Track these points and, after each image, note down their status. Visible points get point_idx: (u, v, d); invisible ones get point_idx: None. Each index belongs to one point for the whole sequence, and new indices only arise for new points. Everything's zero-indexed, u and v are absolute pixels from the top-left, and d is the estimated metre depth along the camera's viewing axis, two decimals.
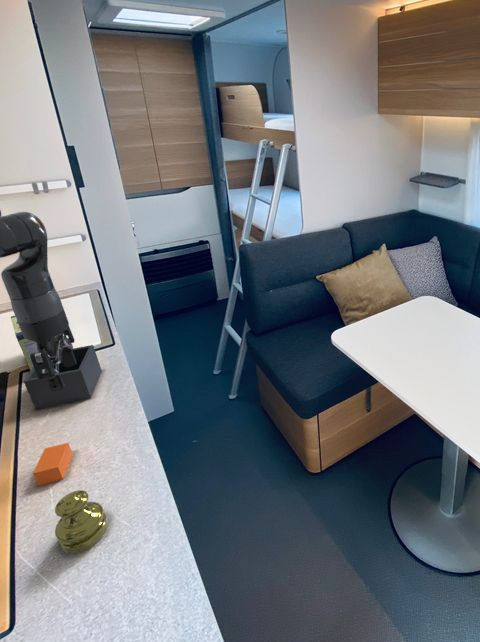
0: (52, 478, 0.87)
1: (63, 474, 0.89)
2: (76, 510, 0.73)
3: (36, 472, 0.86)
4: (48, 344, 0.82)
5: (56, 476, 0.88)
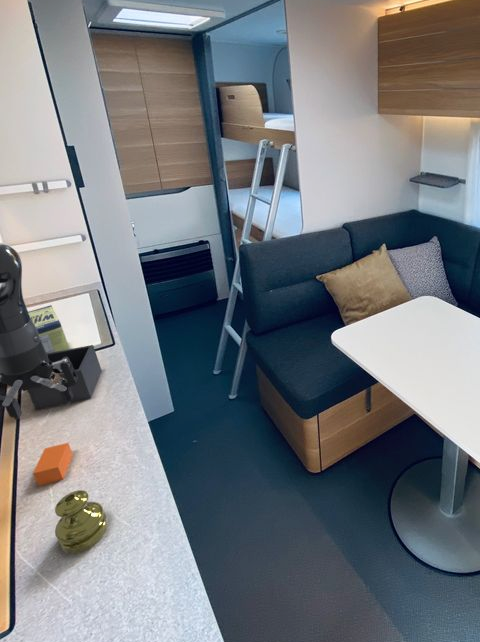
0: (52, 478, 0.87)
1: (63, 474, 0.89)
2: (76, 510, 0.73)
3: (36, 472, 0.86)
4: (2, 377, 0.80)
5: (56, 476, 0.88)
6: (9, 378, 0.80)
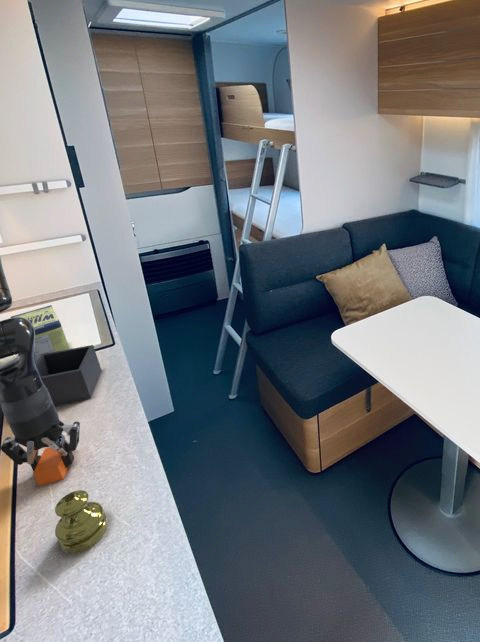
0: (52, 478, 0.87)
1: (63, 474, 0.89)
2: (76, 510, 0.73)
3: (36, 472, 0.86)
4: (14, 438, 0.84)
5: (56, 476, 0.88)
6: (22, 438, 0.85)
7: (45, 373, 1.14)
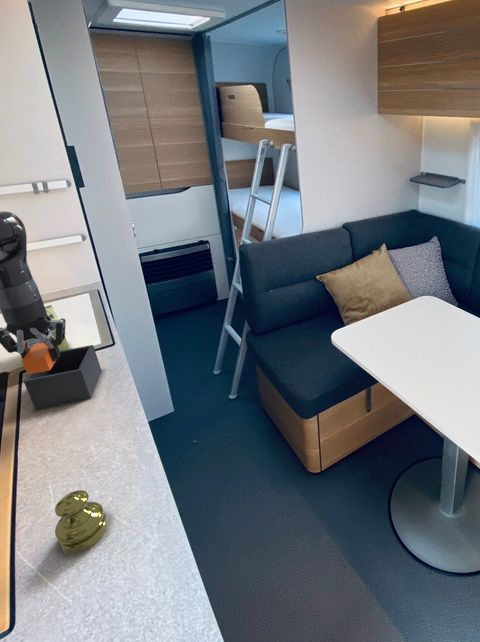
0: (39, 366, 0.97)
1: (49, 365, 0.98)
2: (76, 510, 0.73)
3: (25, 359, 0.95)
4: (6, 327, 0.94)
5: (43, 366, 0.97)
6: (13, 328, 0.94)
7: (45, 373, 1.14)
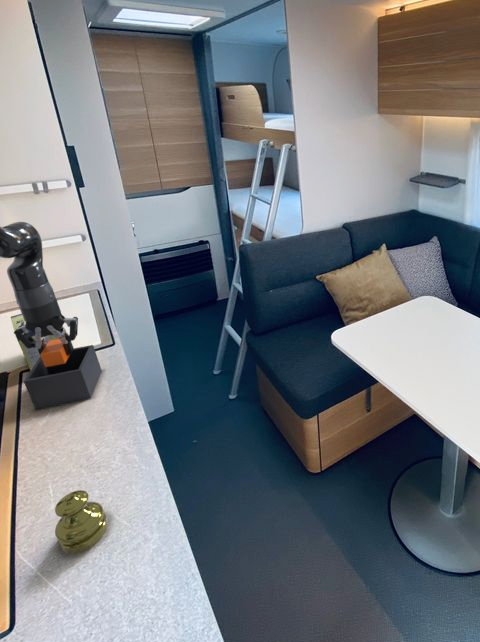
0: (55, 360, 1.08)
1: (64, 358, 1.09)
2: (76, 510, 0.73)
3: (43, 354, 1.06)
4: (25, 325, 1.04)
5: (59, 359, 1.08)
6: (31, 325, 1.05)
7: (45, 373, 1.14)
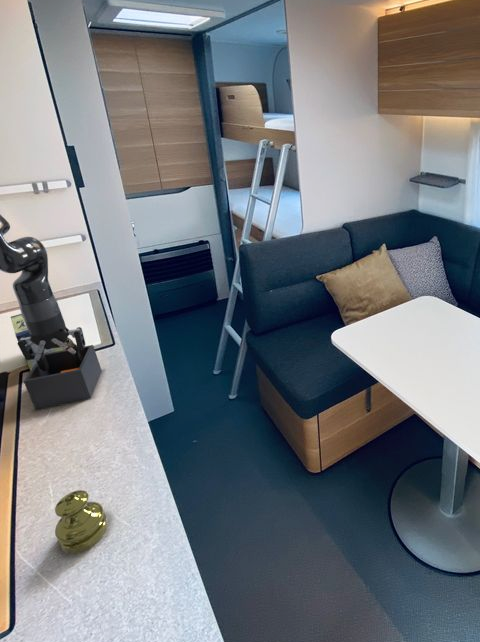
0: None
1: None
2: (76, 510, 0.73)
3: None
4: (30, 337, 1.06)
5: None
6: (36, 338, 1.06)
7: (45, 373, 1.14)
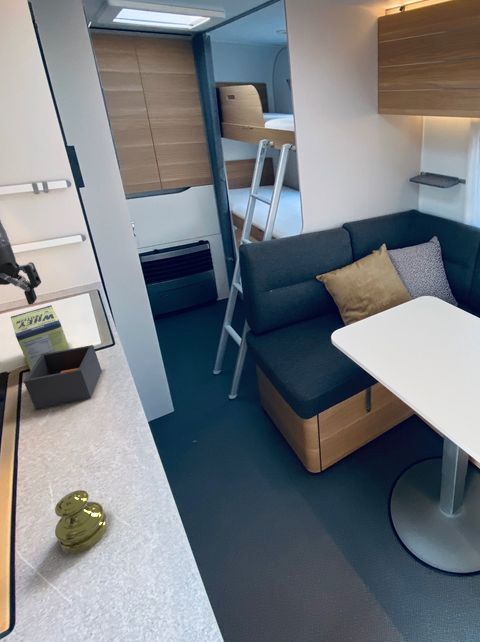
0: None
1: None
2: (76, 510, 0.73)
3: None
4: None
5: None
6: None
7: (45, 373, 1.14)
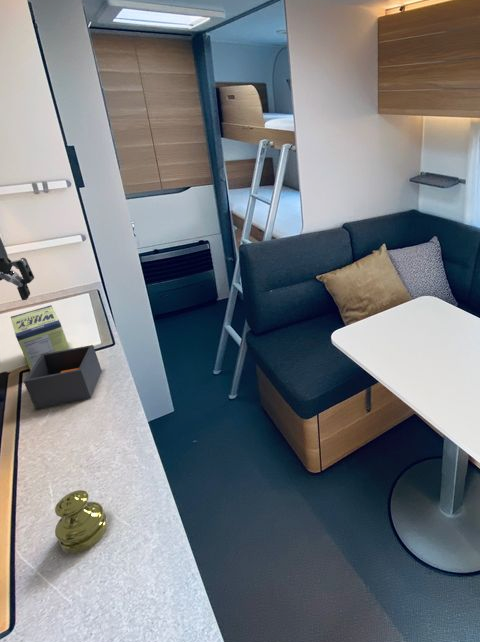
0: None
1: None
2: (76, 510, 0.73)
3: None
4: None
5: None
6: None
7: (45, 373, 1.14)
